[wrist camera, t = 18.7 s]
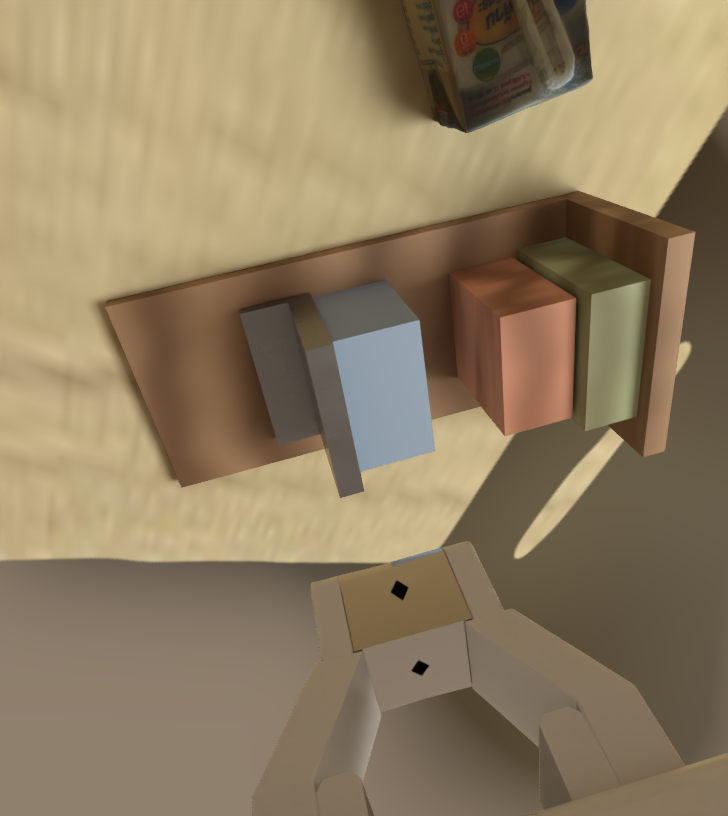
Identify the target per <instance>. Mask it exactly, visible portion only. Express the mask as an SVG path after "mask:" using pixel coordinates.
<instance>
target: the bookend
mask: <svg viewBox="0 0 728 816" xmlns="http://www.w3.org/2000/svg"><path fill="white" fill-rule="evenodd" d="M239 313H240V317H241V320H242V324H243V327H244V330H245V334H246V337H247V341H248V344H249V347H250V351H251V354H252V357H253V361H254V364H255V368H256V371H257V374H258V378H259V381H260V385H261V388H262V391H263V395H264V398H265V402H266V405H267V408H268V412H269V415H270V418H271V422H272V425H273V429H274V432H275V435H276V439H277V442H278V446H279V445H282V444H286V443H290V442H293V441H297V440H301V439H305V438H308V437H312V436H316V435H321V439H322V442H323V445H324V448H325V451H326V454H327V458H328V461H329V464H330V467H331V470H332V473H333V477H334V480H335V483H336V486H337V489H338V492H339V496H340V498H342V497H345V496H349V495H352V494H356V493H359V492H363V491H364V488H363V483H362V478H361V474H360V469H359V464H358V459H357V455H356V450H355V445H354V440H353V436H352V431H351V426H350V421H349V416H348V412H347V407H346V402H345V397H344V393H343V388H342V383H341V378H340V374H339V369H338V364H337V359H336V354H335V350H334V345H333V342H332V340H331V338H330V336H329V334H328V331H327V329H326V327H325V325H324V323H323V321H322V318H321V316H320V314H319V312H318V310H317V308H316V305H315V303H314V301H313V299H312V297H311V294H310V293H306V294H302V295H298V296H293V297H289V298H285V299H281V300H277V301H273V302H268V303H264V304H260V305H256V306H252V307H248V308H244V309H239Z"/></svg>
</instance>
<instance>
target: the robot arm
mask: <svg viewBox="0 0 728 816" xmlns="http://www.w3.org/2000/svg"><path fill="white" fill-rule="evenodd" d="M311 595H312V602H313V608H314V614H315V622H316V628H317V635H318V641H319V648H320V655H321V661H322V662H320V663H317V664H314V665H313V667H312V669H311V671H310V673H309V675H308V678H307V680H306V682H305V684H304V686H303V689H302V691H301V693H300V695H299V697H298V699H297V701H296V703H295V706H294V708H293V710H292V712H291V714H290V716H289V719H288V721H287V723H286V726H285V727H284V729H283V731H282V734H281V736H280V738H279V740H278V742H277V745H276V747H275V749H274V751H273V753H272V755H271V757H270V759H269V762H268V764H267V766H266V768H265V770H264V772H263V775H262V777H261V779H260V781H259V783H258V785H257V787H256V790H255V792H254V794H253V796H252V816H374V814H373V811H372V808H371V805H370V802H369V799H368V797H367V793H366V791H365V788H364V785H363V778H364V775H365V771H366V768H367V764H368V761H369V757H370V754H371V750H372V747H373V743H374V740H375V736H376V733H377V729H378V725H379V722H380V718H381V714H380V713H382V712H384V711H388V710H391V709H394V708H397V707H400V706H403V705H406V704H410V703H412V702H415V701H419V700H422V699H425V698H429V697H432V696H436V695H440V694H444V693H448V692H452V691H456V690H459V689H463V688H467V687H471V686H473V689H474V690H475V691H476V692H477V693H479V694H480V695H481V696H482V697H483V698H484V699H485V700H486V701H488V702H489V703H490V704H491V705H492V706H493V707H494V708H495V709H497V710H498V711H499V712H500V713H501V714H502V715H503V716H505V718H507V719H508V720H509V721H510V722H511V723H512V724H513V725H514V726H516V727H517V728H518V729H519V730H520V731H521V732H522V733H523V734H525V735H526V736H527V737H528V738H529V739H530V740H532V742H534V743H535V744H536V745H537V746H538V747H539V781H540V782H539V785H540V786H539V789H540V791H539V796H540V802H541V805H542V807H543V810H542V811H538V812H535V813H532V814H528V815H525V816H728V753H726V754H723V755H720V756H716V757H713V758H710V759H707V760H704V761H700V762H697V763H694V764H691V765H687V766H685V765H684V763H683V761H682V760H681V758H680V757H679V755H678V753H677V752H676V750H675V749H674V747H673V745H672V744H671V742H670V741H669V739H668V738H667V736H666V734H665V733H664V731H663V730H662V728H661V726H660V725H659V723H658V722H657V720H656V718H655V717H654V715H653V714H652V712H651V711H650V709H649V707H648V706H647V704H646V703H645V701H644V700H643V698H642V696H641V695H640V693H639V692H638V690H637V688H636V687H635V685H633V684H632V683H630V682H629V681H627V680H625V679H624V678H622V677H621V676H619V675H618V674H616V673H614V672H613V671H611V670H610V669H608V668H606V667H605V666H603V665H602V664H600V663H598V662H597V661H595V660H594V659H592V658H590V657H589V656H587V655H586V654H584V653H582V652H581V651H579V650H578V649H576V648H574V647H573V646H571V645H570V644H568V643H566V642H565V641H563V640H562V639H560V638H559V637H557V636H555V635H554V634H552V633H551V632H549V631H547V630H546V629H544V628H543V627H541V626H539V625H538V624H536V623H535V622H533V621H531V620H530V619H528V618H527V617H525V616H523V615H522V614H520V613H518V612H517V611H515V610H514V609H509V610H504V609H503V607H502V605H501V603H500V601H499V599H498V597H497V595H496V593H495V591H494V588H493V586H492V585H491V582H490V580H489V578H488V576H487V574H486V572H485V570H484V568H483V566H482V564H481V562H480V560H479V558H478V556H477V554H476V552H475V550H474V548H473V546H472V544H471V543H470V542H469V541H465V542H462V543H458V544H454V545H451V546H447V547H444V548H442V549H441V548H439V549H435V550H432V551H428V552H425V553H421V554H418V555H414V556H411V557H407V558H404V559H400V560H397V561H393V562H390V563H389V564H385V565H381V566H377V567H373V568H368V569H364V570H360V571H356V572H352V573H348V574H344V575H340V576H339V577H338V576H337V577H333V578H329V579H325V580H321V581H317V582H314V583H311Z"/></svg>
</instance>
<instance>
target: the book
mask: <svg viewBox="0 0 728 816" xmlns="http://www.w3.org/2000/svg"><path fill="white" fill-rule="evenodd" d="M312 299H313V301H314V303H315V305H316V308H317V310H318V312H319V314H320V316H321V318H322V321H323V323H324V325H325V327H326V329H327V331H328V334H329V336H330V338H331V340H332V342H333V345H334V350H335V354H336V359H337V364H338V369H339V374H340V378H341V383H342V388H343V393H344V397H345V402H346V407H347V412H348V416H349V421H350V426H351V431H352V436H353V440H354V445H355V450H356V455H357V459H358V464H359V469H360V472H361V471H365V470H368V469H372V468H376V467H379V466H383V465H386V464H390V463H394V462H397V461H401V460H404V459H408V458H412V457H415V456H419V455H422V454H426V453H430V452H433V451H435V446H434V437H433V429H432V421H431V412H430V404H429V396H428V387H427V379H426V371H425V362H424V354H423V346H422V337H421V329H420V321H419V319H418V318H417V316H416V315H415V314H414V313H413V312H412V310H411V309H410V308H409V307H408V306H407V304H406V303H405V302H404V301H403V300H402V298H401V297H400V296H399V295H398V294H397V292H396V291H395V290H394V289H393V288H392V286H391V285H390V284H389V283H388V282H387V280H383V281H379V282H375V283H371V284H366V285H362V286H358V287H354V288H350V289H346V290H342V291H337V292H333V293H329V294H325V295H321V296H317V297H313V298H312Z"/></svg>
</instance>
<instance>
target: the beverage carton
mask: <svg viewBox="0 0 728 816" xmlns="http://www.w3.org/2000/svg"><path fill="white" fill-rule="evenodd" d="M402 4H403V8H404V11H405V15H406V18H407V22H408V26H409V29H410V33H411V37H412V40H413V44H414V48H415V51H416V54H417V58H418V61H419V64H420V67H421V70H422V73H423V76H424V80H425V83H426V87H427V91H428V95H429V99H430V102H431V106H432V110H433V114H434V119H435V121H437V122H439V124H440V125H442V126H446V127H448V128H455V129H458V130H460V131H462V132H465V133H469V132H472V131H474V130H477V129H479V128H482V127H484V126H487V125H489V124H491V123H493V122H496V121H498V120H501V119H503V118H505V117H507V116H510V115H512V114H514V113H516V112H519V111H521V110H523V109H526V108H528V107H531V106H534V105H537V104H539V103H542V102H545V101H547V100H549V99H552V98H555V97H557V96H560V95H563V94H565V93H567V92H570V91H573V90H575V89H577V88H579V87H582V86H584V85H586V84H588V83H589V82H590V81H591V80H592V79H593V74H592V67H591V56H590V42H589V26H588V20H587V14H586V0H402Z"/></svg>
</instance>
